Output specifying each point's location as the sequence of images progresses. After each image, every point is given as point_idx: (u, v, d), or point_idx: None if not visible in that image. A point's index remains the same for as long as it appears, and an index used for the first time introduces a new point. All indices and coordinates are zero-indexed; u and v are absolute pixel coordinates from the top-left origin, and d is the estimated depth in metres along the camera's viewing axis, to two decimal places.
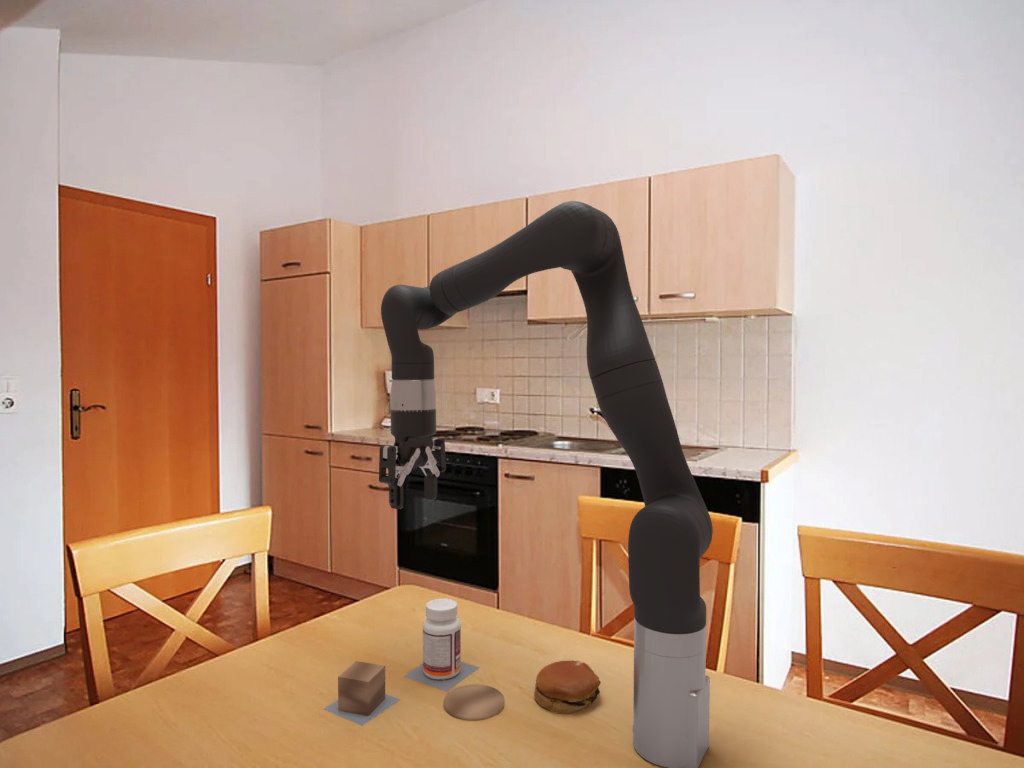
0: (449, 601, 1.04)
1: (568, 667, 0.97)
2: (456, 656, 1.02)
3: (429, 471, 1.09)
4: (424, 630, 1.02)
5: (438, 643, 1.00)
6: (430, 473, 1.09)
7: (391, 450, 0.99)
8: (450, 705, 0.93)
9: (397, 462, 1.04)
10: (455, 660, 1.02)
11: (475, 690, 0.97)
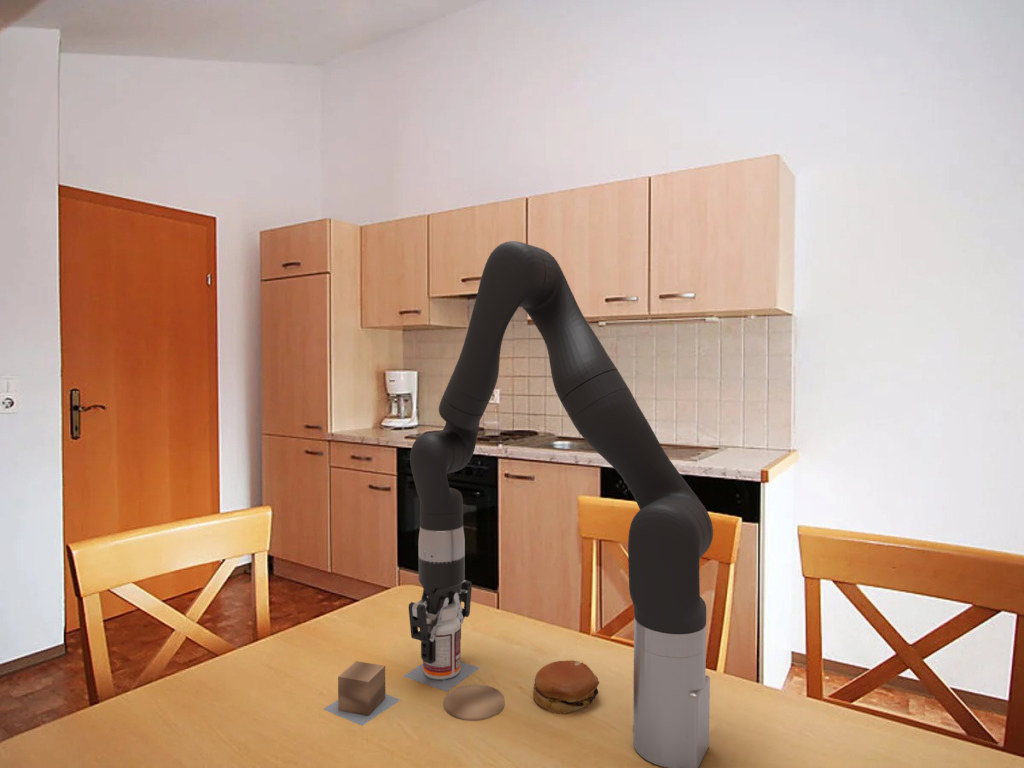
0: None
1: (567, 667, 0.97)
2: (456, 656, 1.02)
3: None
4: None
5: (438, 643, 1.00)
6: None
7: (420, 610, 0.97)
8: (450, 705, 0.93)
9: (426, 612, 1.02)
10: (455, 660, 1.02)
11: (475, 690, 0.97)
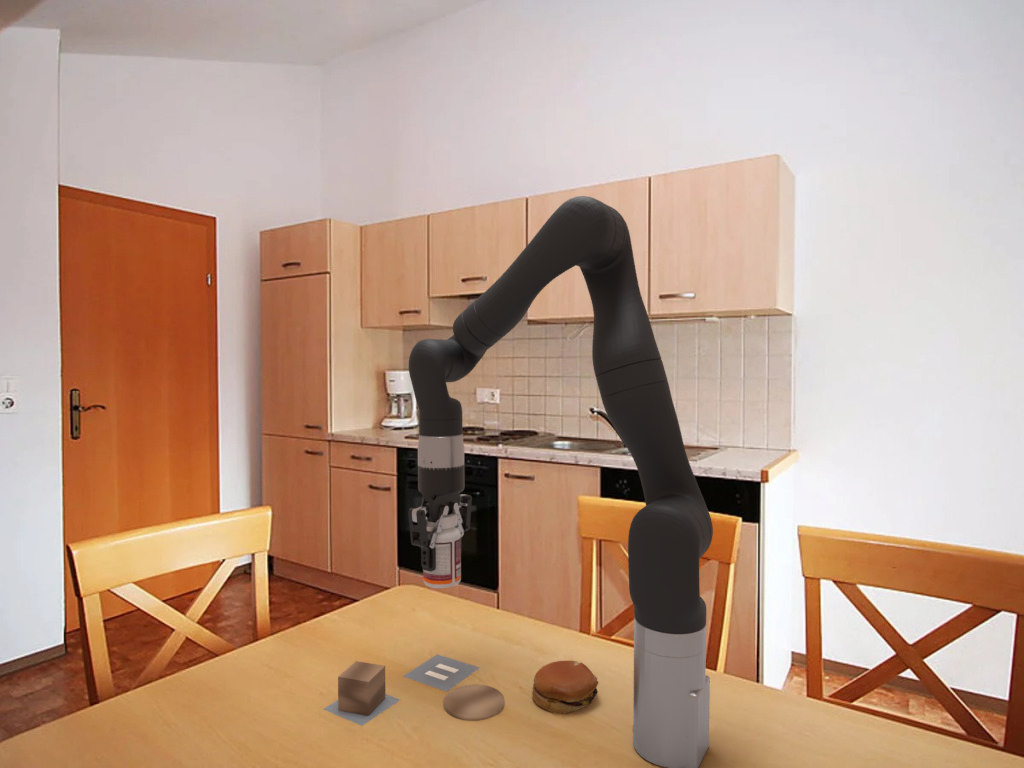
0: None
1: (566, 667, 0.97)
2: (456, 565, 1.01)
3: None
4: None
5: (438, 551, 1.00)
6: None
7: (420, 514, 0.96)
8: (450, 705, 0.93)
9: (426, 521, 1.01)
10: (456, 569, 1.01)
11: (475, 690, 0.97)
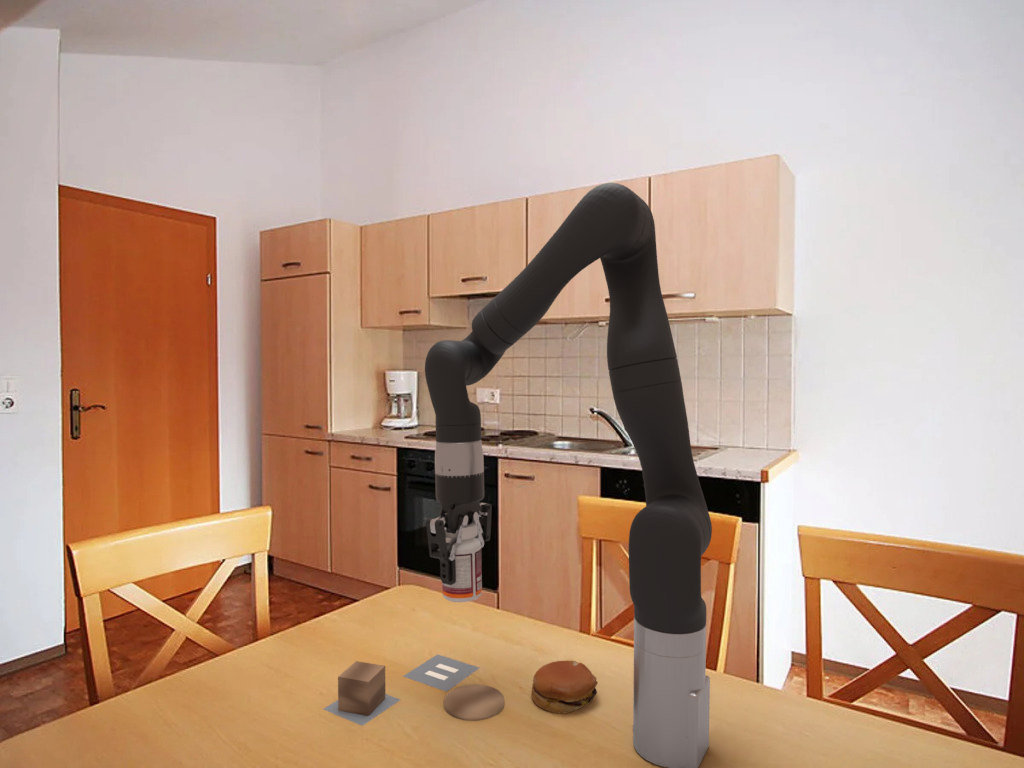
0: None
1: (565, 667, 0.97)
2: (477, 577, 0.96)
3: None
4: None
5: (458, 563, 0.95)
6: None
7: (439, 525, 0.92)
8: (450, 705, 0.93)
9: None
10: (477, 582, 0.96)
11: (475, 690, 0.97)
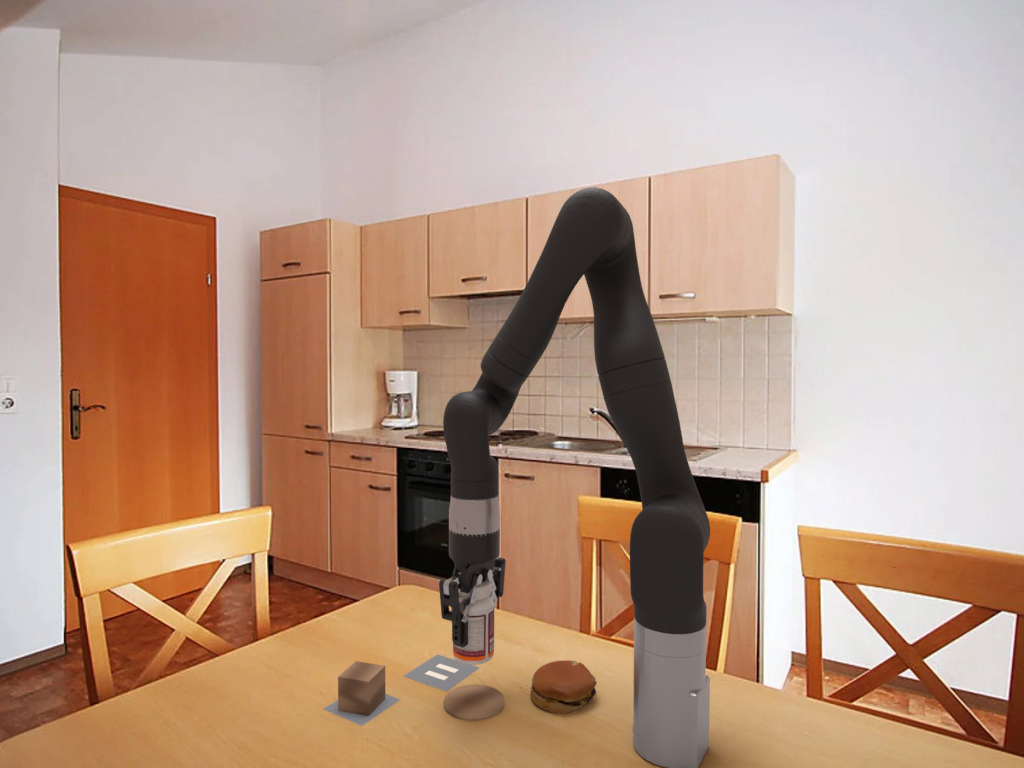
0: None
1: (565, 667, 0.97)
2: (490, 639, 0.92)
3: None
4: None
5: (471, 624, 0.91)
6: None
7: (453, 587, 0.87)
8: (450, 705, 0.93)
9: None
10: (489, 644, 0.92)
11: (475, 690, 0.97)
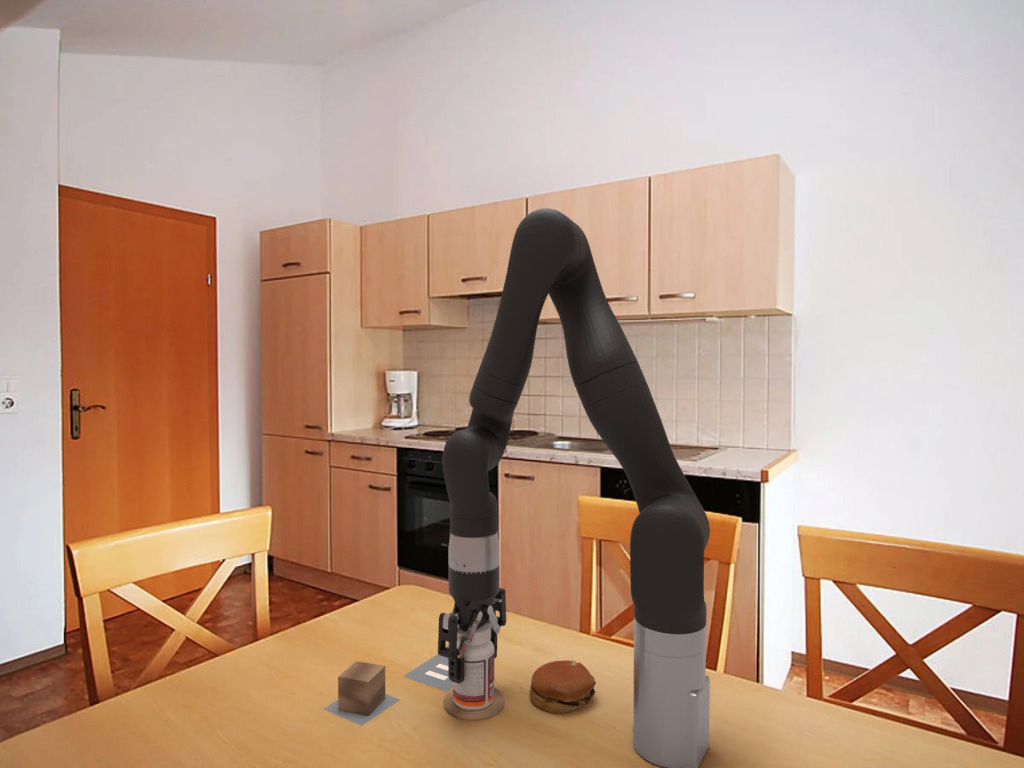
0: None
1: (564, 667, 0.97)
2: (489, 684, 0.92)
3: None
4: None
5: (471, 670, 0.91)
6: None
7: (453, 621, 0.87)
8: (450, 705, 0.93)
9: None
10: (489, 689, 0.92)
11: None
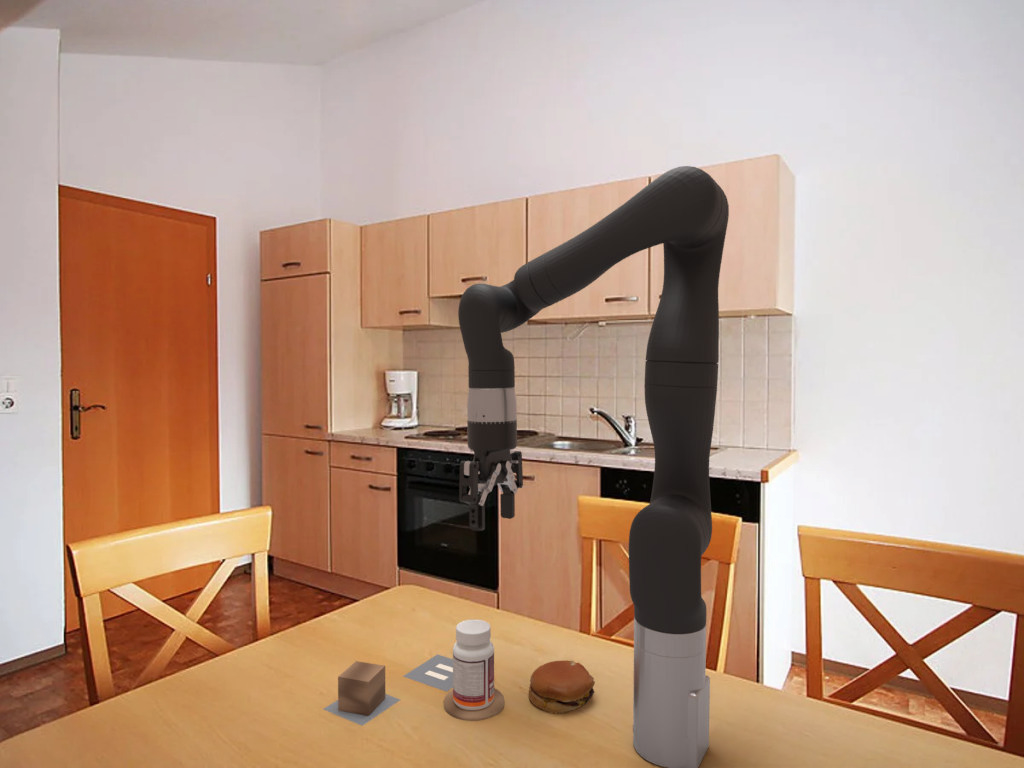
0: (481, 623, 0.94)
1: (563, 667, 0.97)
2: (489, 684, 0.92)
3: (506, 487, 1.00)
4: (454, 655, 0.92)
5: (471, 670, 0.91)
6: (507, 490, 0.99)
7: (474, 466, 0.90)
8: (450, 705, 0.93)
9: None
10: (489, 689, 0.92)
11: None
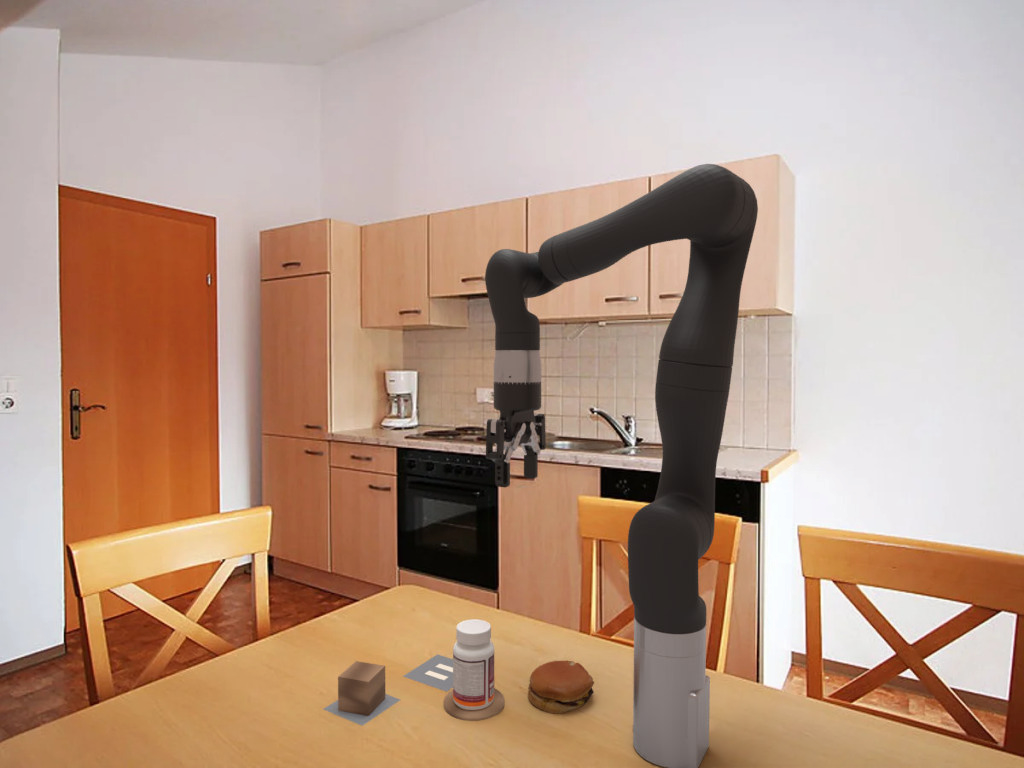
0: (482, 623, 0.95)
1: (562, 667, 0.97)
2: (490, 684, 0.92)
3: (529, 449, 1.03)
4: (455, 655, 0.92)
5: (471, 670, 0.91)
6: (531, 451, 1.03)
7: (500, 424, 0.93)
8: (450, 705, 0.93)
9: None
10: (489, 689, 0.92)
11: None
